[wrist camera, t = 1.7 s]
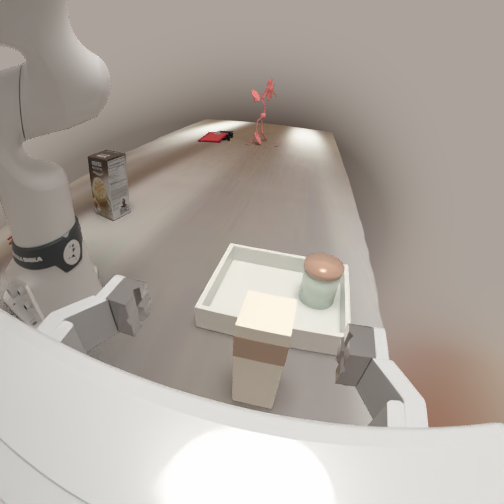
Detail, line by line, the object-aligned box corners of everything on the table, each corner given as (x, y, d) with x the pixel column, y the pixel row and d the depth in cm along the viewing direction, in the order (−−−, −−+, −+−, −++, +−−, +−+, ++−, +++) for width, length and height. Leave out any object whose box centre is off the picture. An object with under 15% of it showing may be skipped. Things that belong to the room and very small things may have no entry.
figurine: (242, 145, 139) (249, 76, 120) (259, 137, 160) (265, 77, 141) (273, 151, 136) (281, 79, 116) (285, 142, 156) (293, 81, 137)
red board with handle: (236, 133, 168) (212, 132, 169) (237, 128, 167) (212, 127, 168) (226, 144, 143) (198, 143, 144) (226, 138, 142) (197, 137, 143)
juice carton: (231, 400, 33) (234, 325, 26) (241, 368, 38) (247, 289, 30) (272, 409, 33) (291, 337, 25) (279, 377, 37) (298, 299, 29)
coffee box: (94, 213, 72) (86, 156, 63) (112, 204, 77) (105, 149, 68) (113, 221, 69) (105, 159, 60) (132, 211, 74) (126, 152, 65)
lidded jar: (295, 306, 47) (302, 272, 44) (299, 282, 52) (306, 249, 49) (334, 313, 46) (345, 280, 43) (334, 288, 52) (343, 256, 48)
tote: (196, 326, 43) (194, 307, 41) (229, 260, 58) (230, 243, 56) (342, 356, 40) (350, 338, 38) (342, 282, 55) (348, 264, 53)
